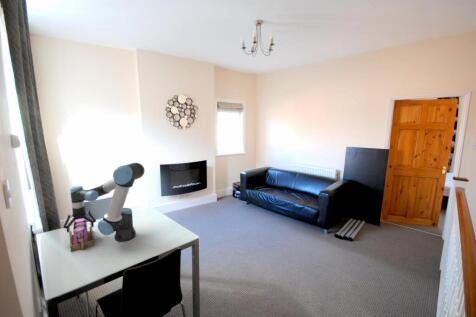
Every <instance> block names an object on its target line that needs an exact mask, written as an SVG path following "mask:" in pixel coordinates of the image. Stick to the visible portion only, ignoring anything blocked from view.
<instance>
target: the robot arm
mask: <svg viewBox="0 0 476 317" xmlns="http://www.w3.org/2000/svg"><path fill="white" fill-rule="evenodd" d="M145 172H146V170H145V167H144V165H143V164H141V163H139V162H132V163H129V164H124V165H121V166H118V167H116V168H115V169H114V171H113V172H112V178H111V179H110V180H108V181H106V182H104V183H103V184H101V185H99V186H96V187H94V188H90V189H84V188H83V186H82V185H75V186H72V187H70V190H69V191H70V198H71V208H72V209H71V210H72V214H70V213H69V214H67V218H66V220H65V223H64V224H63V226H62V227H63V229H66V232H67V233H68V236H69V238H70V237H71V233H70V231H71V226H72V225H73V224H74V221H75V220H76V219H77V220H78V219H82V218H84V219H86V221H88V222H89V224H90V227H91V232H92V233H93V228H94V226H95V225H94V223H96V222H97V220H96V218H95V217H94V216H93V214H92V213H91V211H90V210H87V211H86V209H85V208H86V207H85V206H86V205H85V202H86V201H87V202H95V201H97V199H98V198H99V197H100V198H101V197H102V196H105V195H108V194H109V193H111V192H112V191H113V194H112V198H111V201H110V204H109V207H108V209H107V211H106V212H105V213H104V215H103V218H102V219H101V220H100V221H99V222H98V223H97V230H98V231H99V233H101V235H104V236H110V235H112V234H114V241H115V242H116V241H117V242H121V243H122V242H127V241H131V240H132V239H135V238H136V235H137V232H136V229H135V226H134V223H133V222H134V221H133V211H132V209H131V208H130V207H124V206H125V202H126V199H127V196H128V193H129V190H130V188H132V187H133V186H134V183H135V182H136V180H138V179H140V178H142V177H143V176H144V175H145ZM86 215H88V216H89V217H90V218H89V217H88V216H86ZM72 217H73V218H72ZM71 218H72V219H71ZM70 219H71V220H70ZM69 221H70V222H69Z"/></svg>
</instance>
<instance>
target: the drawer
mask: <svg viewBox="0 0 476 317" xmlns="http://www.w3.org/2000/svg"><path fill="white" fill-rule="evenodd" d="M87 232H88V241H87V242H84V240H83V238H82V239H81V243H79V244H75V245H74V234H72V230H70V233H71V237H69V244H70V245H69V246H70V252H74V251H78V250H82V251H84V250H85V248H90V247H93V246H95V240H94V239H95V238H94V235H93V234H94V233H93V232H91V226H89V230H87Z"/></svg>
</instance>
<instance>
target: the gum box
mask: <svg viewBox="0 0 476 317" xmlns="http://www.w3.org/2000/svg"><path fill="white" fill-rule="evenodd" d="M72 228H73V229H72V230H73V234H72V235H74V245H75V244H79V243H81V239H82V238H83V240H84V242H87V241H88V232H87V231H88V223H87V220H86V219H84V218H82V219H78V220H77V219H76V220H75V221H74V222H73V227H72Z"/></svg>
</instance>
